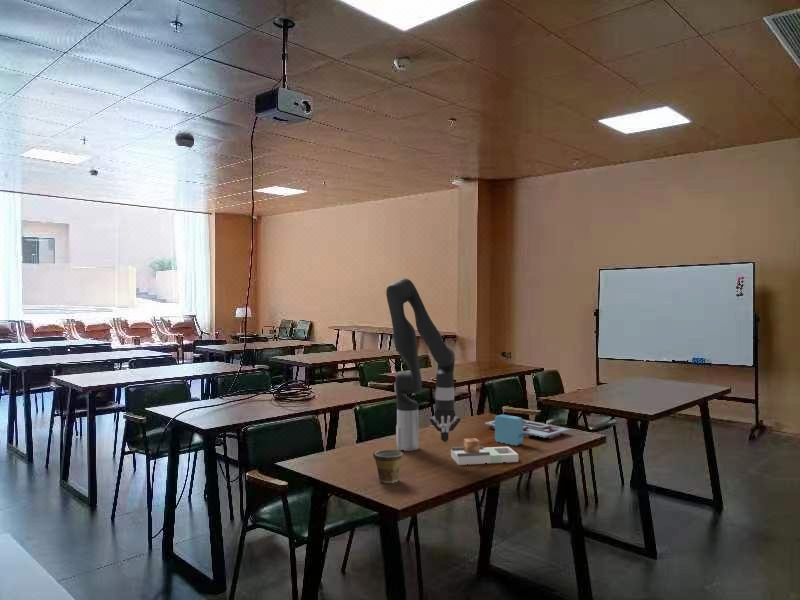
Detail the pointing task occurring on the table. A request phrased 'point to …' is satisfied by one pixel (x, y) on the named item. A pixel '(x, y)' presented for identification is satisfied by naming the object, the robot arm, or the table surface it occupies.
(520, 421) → the blue square slab
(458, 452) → the tray
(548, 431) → the maze game
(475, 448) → the terracotta cube
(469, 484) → the table surface
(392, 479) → the ceramic cup
